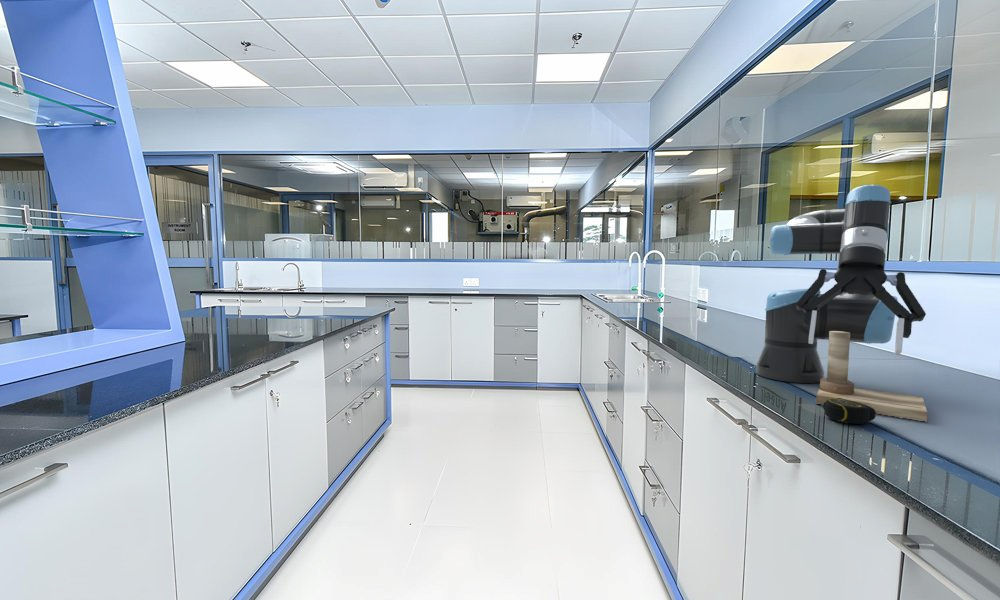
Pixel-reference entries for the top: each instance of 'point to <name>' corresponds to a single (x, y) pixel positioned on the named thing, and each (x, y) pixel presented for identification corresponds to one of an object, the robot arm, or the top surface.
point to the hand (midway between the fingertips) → (852, 347)
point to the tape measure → (848, 411)
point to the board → (883, 402)
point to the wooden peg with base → (838, 365)
